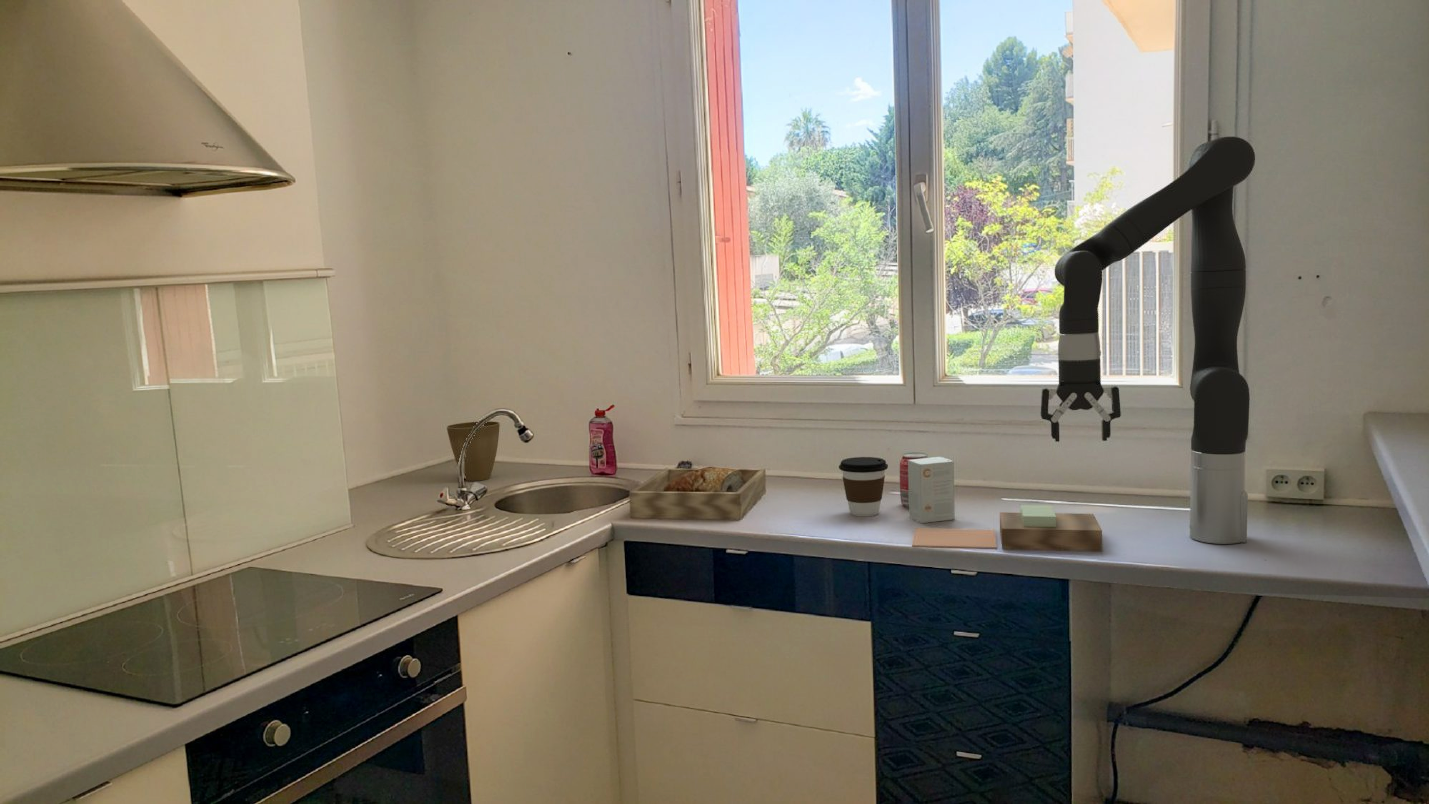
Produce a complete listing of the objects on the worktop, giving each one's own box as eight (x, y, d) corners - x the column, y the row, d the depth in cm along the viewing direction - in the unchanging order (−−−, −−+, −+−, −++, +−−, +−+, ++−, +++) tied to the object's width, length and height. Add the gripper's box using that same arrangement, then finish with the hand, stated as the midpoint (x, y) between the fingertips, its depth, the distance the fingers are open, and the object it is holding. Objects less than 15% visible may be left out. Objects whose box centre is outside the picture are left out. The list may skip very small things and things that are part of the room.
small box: (941, 513, 217) (940, 456, 215) (955, 520, 211) (954, 460, 209) (908, 517, 215) (907, 459, 213) (921, 523, 209) (920, 464, 207)
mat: (994, 531, 200) (994, 529, 200) (996, 548, 187) (996, 547, 187) (915, 529, 204) (915, 528, 204) (912, 546, 191) (912, 545, 191)
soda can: (935, 503, 226) (934, 452, 225) (925, 510, 220) (924, 458, 219) (906, 501, 230) (905, 451, 229) (895, 507, 224) (894, 456, 222)
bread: (712, 519, 222) (710, 476, 221) (646, 512, 232) (644, 471, 230) (755, 500, 239) (753, 460, 238) (693, 494, 249) (691, 455, 248)
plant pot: (511, 478, 280) (507, 423, 278) (460, 486, 272) (455, 429, 270) (493, 471, 292) (489, 418, 290) (444, 478, 284) (440, 424, 282)
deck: (1093, 533, 195) (1093, 513, 194) (1102, 551, 182) (1102, 530, 182) (999, 531, 199) (999, 512, 199) (1002, 548, 187) (1001, 528, 187)
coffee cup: (887, 506, 225) (885, 455, 224) (890, 518, 214) (889, 464, 213) (839, 507, 226) (838, 457, 225) (841, 519, 215) (839, 466, 214)
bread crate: (766, 492, 246) (765, 468, 246) (741, 519, 219) (740, 493, 218) (666, 491, 253) (665, 468, 252) (630, 517, 226) (629, 492, 225)
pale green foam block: (1052, 515, 195) (1052, 505, 194) (1056, 526, 186) (1056, 516, 186) (1020, 515, 196) (1020, 505, 196) (1023, 526, 187) (1023, 516, 187)
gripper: (1116, 353, 187) (1117, 437, 189) (1038, 356, 191) (1040, 438, 193) (1122, 357, 180) (1122, 443, 182) (1040, 359, 184) (1042, 444, 185)
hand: (1080, 440), depth 187 cm, fingers open, 8 cm apart
